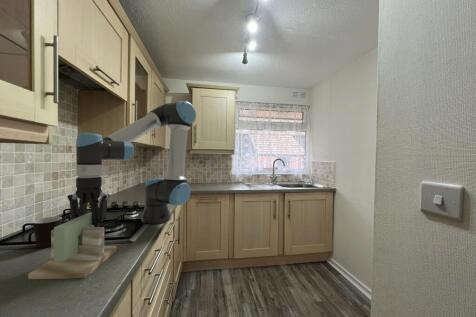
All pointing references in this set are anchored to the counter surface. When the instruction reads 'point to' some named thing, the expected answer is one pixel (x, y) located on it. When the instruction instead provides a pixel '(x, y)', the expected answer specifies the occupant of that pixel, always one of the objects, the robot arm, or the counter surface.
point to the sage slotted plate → (70, 236)
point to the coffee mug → (45, 230)
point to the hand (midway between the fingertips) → (88, 241)
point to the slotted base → (70, 267)
